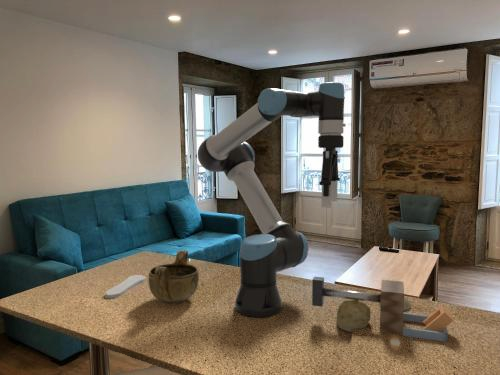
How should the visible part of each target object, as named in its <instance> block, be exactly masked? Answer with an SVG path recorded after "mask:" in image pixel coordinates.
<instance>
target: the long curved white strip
mask: <svg viewBox="0 0 500 375" xmlns="http://www.w3.org/2000/svg"><path fill="white" fill-rule="evenodd" d="M146 281H147V277H146V276H145V275H140V274H135V275H130V276H129V277H127V278H126V279H125V280H123V281H122V282H120V283H119V284H117V285H115V286H113V287H111V288H109V289H108V290H107V291H105V293H104V296H105V298H106V299H116V297H117V298H119V296H120V297H121V296H123V295H124V293H125V294H126V293H127V292H129V291H130V290H132V289H133V288H134V287H136V286H139V285H140V284H142V283H144V282H146ZM128 290H129V291H128Z"/></svg>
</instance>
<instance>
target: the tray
mask: <svg viewBox="0 0 500 375" xmlns="http://www.w3.org/2000/svg"><path fill="white" fill-rule="evenodd" d="M429 316H430V315H426V314H420V313H419V314H417V313H410V312H404V315H403V322H412V323H413V322H414V323H419V324H424V323H423V321H424V320H425V319H426V318H428V317H429ZM402 336H403V337H410V338H417V339H423V340H430V341H431V340H432V341H439V342H446V343H448V341H449V337H448V336H449V334H448V330H447V326H446V327H445V328H444V329H443V330H441V331H440V332H437V331H430V330H425V329H420V328H413V327H406V326H403V335H402Z"/></svg>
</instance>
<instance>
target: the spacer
mask: <svg viewBox="0 0 500 375" xmlns="http://www.w3.org/2000/svg"><path fill="white" fill-rule="evenodd" d="M428 316H429V317H428V318H426V319H425V320H424V321H423V323H422V324H424V325H425V326H424V328H423V330H430V331H437V332H442V331H441V330H443V329H444V328H445V327H446V328H447V327H448V326H449V325H450V324H452V322H454V318H453V315H452V313H451V311H450V310H448V309H447V308H446V307H445V306H443V305H441V306H440V307H438V308H437V309H436V310H435V311H434V312H433V313H431V314H430V315H428Z"/></svg>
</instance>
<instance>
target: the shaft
mask: <svg viewBox="0 0 500 375" xmlns="http://www.w3.org/2000/svg"><path fill="white" fill-rule="evenodd" d="M311 282H312V284H311V285H312V286H311V287H312V288H311V289H312V290H311V291H312V292H311V294H312V295H311V297H312V298H311V299H312V301H311V306H314V307H323V306H324V304H325V297H328V298H336V299H343V300H349V299H350V300H351V299H352V300H359V301H361V302H370V303H378V304H379V303H381V293H371V292H362V291H355V290H344V289H336V288H329V287H327V288H325V277H321V276H313V277H312V281H311Z"/></svg>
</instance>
